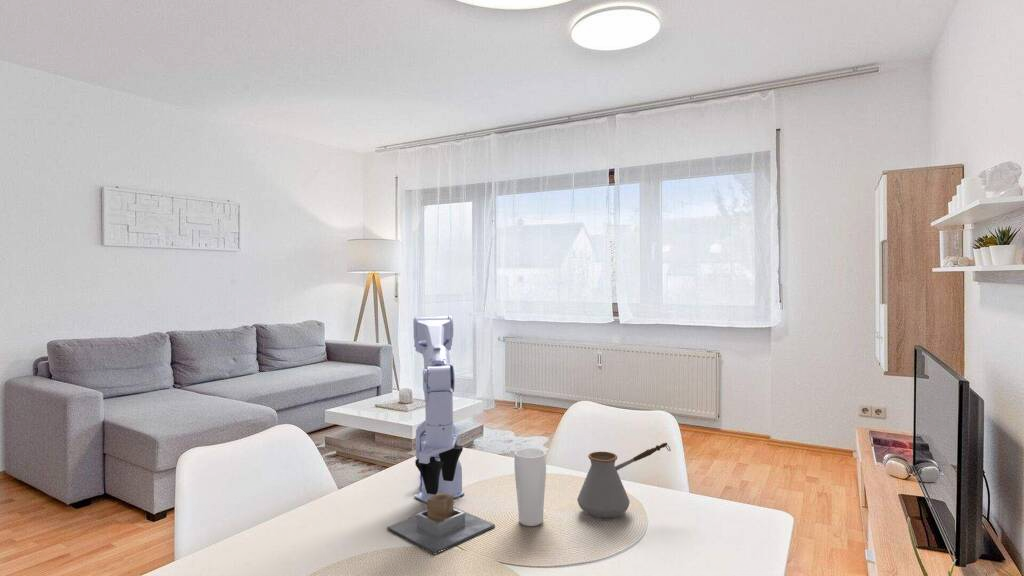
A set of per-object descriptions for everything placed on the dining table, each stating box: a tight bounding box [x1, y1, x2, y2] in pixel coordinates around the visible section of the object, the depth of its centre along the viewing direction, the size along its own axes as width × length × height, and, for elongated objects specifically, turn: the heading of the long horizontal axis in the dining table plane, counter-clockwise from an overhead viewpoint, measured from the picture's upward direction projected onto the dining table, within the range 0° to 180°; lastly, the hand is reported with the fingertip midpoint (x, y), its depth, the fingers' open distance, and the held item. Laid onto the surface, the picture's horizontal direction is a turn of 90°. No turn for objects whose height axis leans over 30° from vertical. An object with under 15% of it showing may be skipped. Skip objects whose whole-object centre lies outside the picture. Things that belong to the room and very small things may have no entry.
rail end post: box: [426, 493, 454, 522], centre depth 117 cm, size 4×4×6 cm
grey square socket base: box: [386, 506, 496, 555], centre depth 117 cm, size 16×16×3 cm
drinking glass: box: [514, 447, 547, 527], centre depth 119 cm, size 7×7×15 cm
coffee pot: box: [576, 442, 671, 521], centre depth 124 cm, size 21×12×15 cm, turn 98°
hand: (440, 486), depth 117 cm, fingers open, 7 cm apart
